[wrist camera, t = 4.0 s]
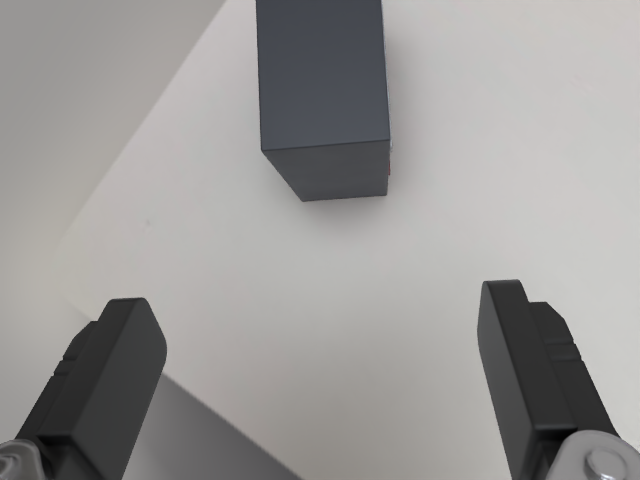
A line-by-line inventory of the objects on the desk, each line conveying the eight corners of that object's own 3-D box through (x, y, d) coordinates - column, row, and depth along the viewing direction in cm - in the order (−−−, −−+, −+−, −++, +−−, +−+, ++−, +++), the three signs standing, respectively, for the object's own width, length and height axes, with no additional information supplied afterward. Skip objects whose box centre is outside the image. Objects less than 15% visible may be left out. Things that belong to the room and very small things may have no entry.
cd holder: (389, 195, 28) (394, 139, 18) (299, 202, 29) (257, 151, 19) (378, 32, 29) (377, -102, 19) (292, 42, 30) (249, -84, 20)
